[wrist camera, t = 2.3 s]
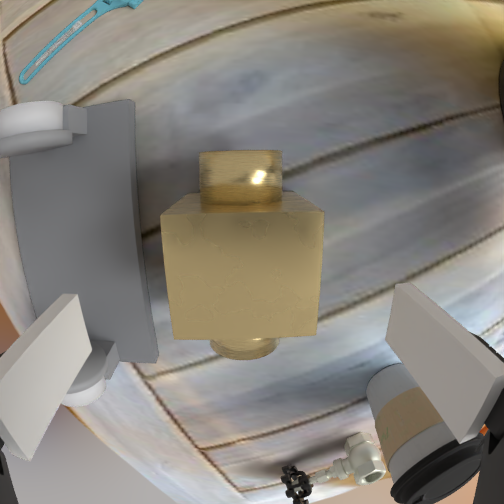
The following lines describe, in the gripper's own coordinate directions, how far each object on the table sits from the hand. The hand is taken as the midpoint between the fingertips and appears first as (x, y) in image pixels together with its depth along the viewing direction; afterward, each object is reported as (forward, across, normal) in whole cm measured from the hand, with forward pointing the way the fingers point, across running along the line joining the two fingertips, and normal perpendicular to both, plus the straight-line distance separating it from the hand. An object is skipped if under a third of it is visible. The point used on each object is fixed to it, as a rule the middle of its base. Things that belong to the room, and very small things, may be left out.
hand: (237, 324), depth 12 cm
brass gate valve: (+13, +1, 0) cm, 13 cm away
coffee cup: (+13, +17, -17) cm, 27 cm away
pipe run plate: (+13, -14, 0) cm, 19 cm away
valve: (+13, +11, -29) cm, 34 cm away
